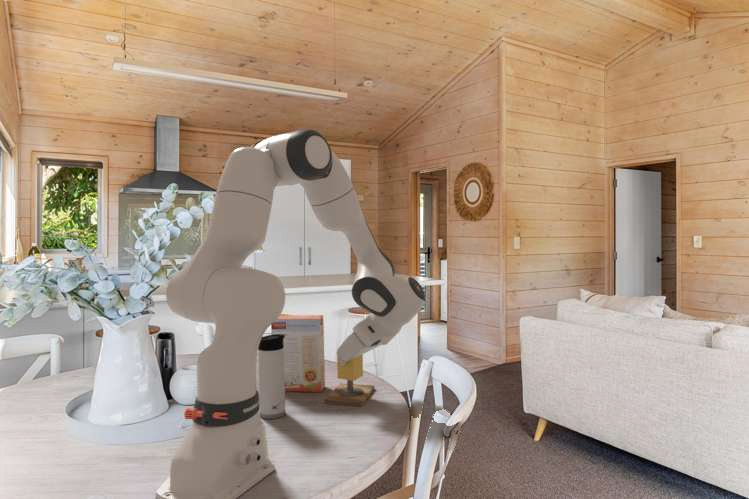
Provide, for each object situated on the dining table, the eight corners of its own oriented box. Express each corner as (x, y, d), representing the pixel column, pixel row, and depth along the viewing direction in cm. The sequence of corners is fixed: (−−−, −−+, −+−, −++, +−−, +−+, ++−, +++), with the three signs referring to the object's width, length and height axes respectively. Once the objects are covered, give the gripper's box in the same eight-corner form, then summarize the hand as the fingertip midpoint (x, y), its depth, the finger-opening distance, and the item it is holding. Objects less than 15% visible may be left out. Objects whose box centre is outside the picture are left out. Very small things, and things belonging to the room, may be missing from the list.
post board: (361, 406, 134) (361, 363, 134) (324, 403, 137) (323, 361, 136) (374, 388, 148) (373, 350, 147) (340, 386, 150) (339, 348, 150)
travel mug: (280, 420, 126) (279, 337, 124) (255, 418, 127) (253, 337, 126) (290, 410, 132) (288, 332, 131) (265, 409, 133) (263, 331, 132)
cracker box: (325, 386, 151) (324, 314, 150) (321, 392, 145) (320, 318, 144) (278, 385, 153) (276, 314, 152) (272, 391, 147) (270, 317, 146)
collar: (353, 380, 139) (353, 351, 138) (337, 378, 141) (337, 349, 141) (362, 375, 143) (362, 346, 143) (347, 373, 146) (346, 345, 145)
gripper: (389, 312, 147) (359, 343, 152) (352, 325, 129) (320, 360, 134) (403, 329, 145) (373, 359, 150) (368, 345, 127) (335, 379, 132)
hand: (348, 360), depth 142 cm, fingers closed on collar, 5 cm apart
